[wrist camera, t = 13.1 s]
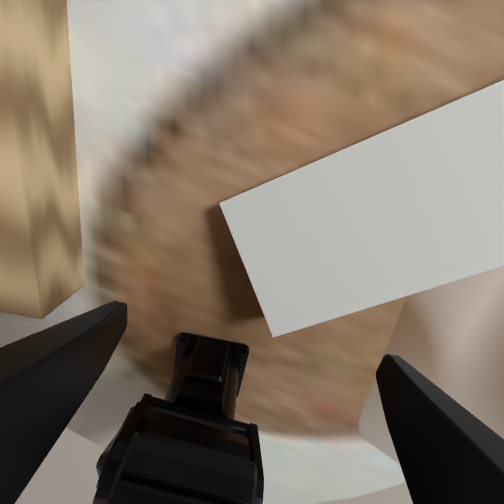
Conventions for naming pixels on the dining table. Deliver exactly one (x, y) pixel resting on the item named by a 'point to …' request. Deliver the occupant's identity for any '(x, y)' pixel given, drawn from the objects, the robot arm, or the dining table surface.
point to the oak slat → (37, 160)
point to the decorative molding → (378, 216)
